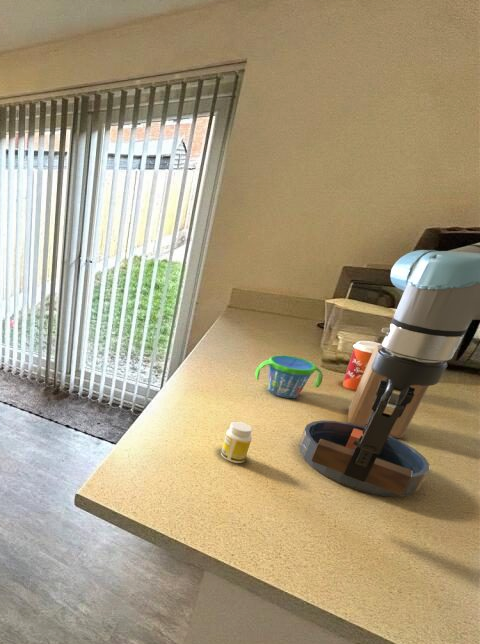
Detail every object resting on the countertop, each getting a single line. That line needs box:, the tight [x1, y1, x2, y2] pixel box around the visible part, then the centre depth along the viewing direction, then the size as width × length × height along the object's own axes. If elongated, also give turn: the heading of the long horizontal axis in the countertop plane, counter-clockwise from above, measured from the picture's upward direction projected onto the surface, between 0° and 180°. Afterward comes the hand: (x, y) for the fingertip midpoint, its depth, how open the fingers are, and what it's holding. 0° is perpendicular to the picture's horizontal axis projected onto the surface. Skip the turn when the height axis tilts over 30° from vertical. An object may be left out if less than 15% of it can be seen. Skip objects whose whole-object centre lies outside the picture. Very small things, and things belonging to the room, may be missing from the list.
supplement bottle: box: [220, 421, 253, 464], centre depth 89 cm, size 5×5×8 cm
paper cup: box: [342, 340, 382, 392], centre depth 116 cm, size 8×8×14 cm
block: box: [347, 345, 430, 439], centre depth 97 cm, size 10×10×20 cm
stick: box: [311, 439, 412, 495], centre depth 70 cm, size 12×2×4 cm, turn 41°
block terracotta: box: [346, 428, 363, 450], centre depth 89 cm, size 4×4×4 cm
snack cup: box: [254, 354, 324, 399], centre depth 115 cm, size 16×10×10 cm
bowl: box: [297, 419, 431, 498], centre depth 86 cm, size 20×20×6 cm
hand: (355, 473), depth 70 cm, fingers closed on stick, 2 cm apart
